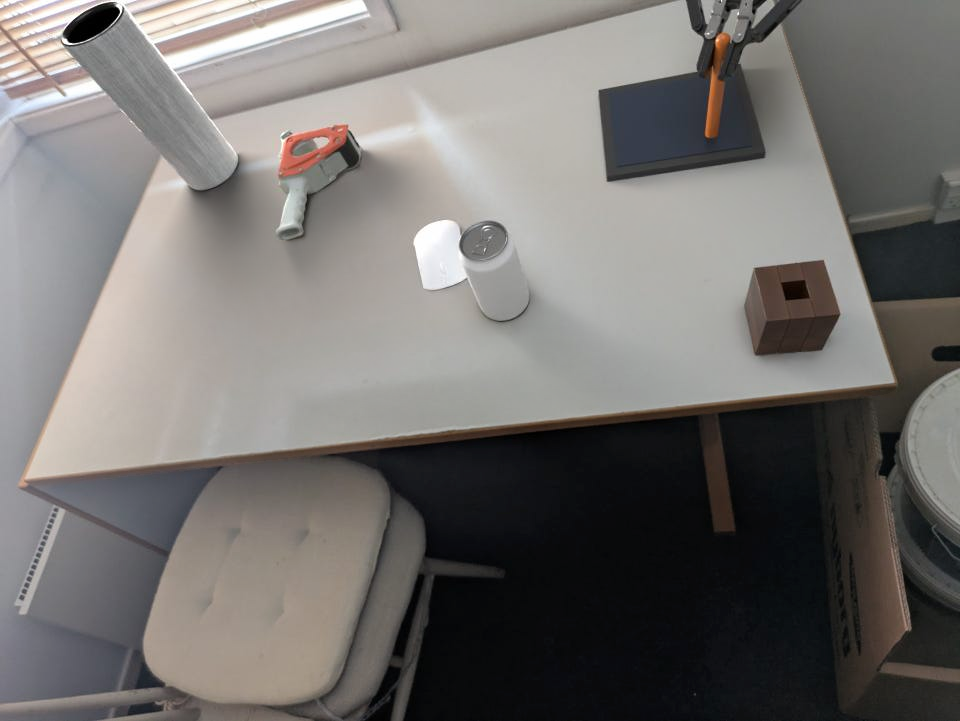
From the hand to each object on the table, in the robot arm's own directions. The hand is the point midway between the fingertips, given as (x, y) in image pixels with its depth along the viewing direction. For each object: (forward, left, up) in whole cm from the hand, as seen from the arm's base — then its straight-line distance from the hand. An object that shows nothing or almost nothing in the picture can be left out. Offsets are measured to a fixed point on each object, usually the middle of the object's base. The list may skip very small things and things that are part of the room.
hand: (713, 78), depth 68 cm
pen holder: (-4, +27, -12) cm, 30 cm away
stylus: (-1, -2, -10) cm, 10 cm away
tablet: (+3, -7, -12) cm, 14 cm away
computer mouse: (+36, +11, -12) cm, 39 cm away
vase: (+80, -15, -12) cm, 82 cm away
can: (+27, +20, -12) cm, 36 cm away
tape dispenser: (+59, -7, -12) cm, 61 cm away
